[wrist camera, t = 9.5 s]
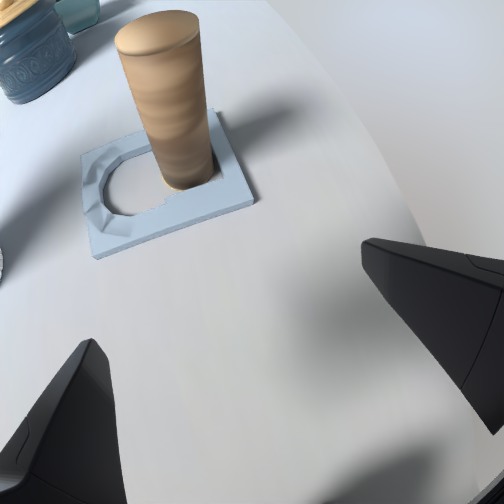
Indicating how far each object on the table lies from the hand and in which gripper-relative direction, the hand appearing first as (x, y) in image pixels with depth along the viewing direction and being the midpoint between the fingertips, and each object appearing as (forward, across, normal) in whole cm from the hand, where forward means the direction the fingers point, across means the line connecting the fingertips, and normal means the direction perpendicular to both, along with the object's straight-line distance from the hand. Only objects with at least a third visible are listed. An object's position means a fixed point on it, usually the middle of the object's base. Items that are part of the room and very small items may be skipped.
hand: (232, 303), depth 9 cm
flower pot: (+50, +10, -31) cm, 60 cm away
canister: (+40, +17, -21) cm, 48 cm away
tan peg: (+20, -1, -1) cm, 20 cm away
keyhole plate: (+20, +2, -1) cm, 20 cm away
